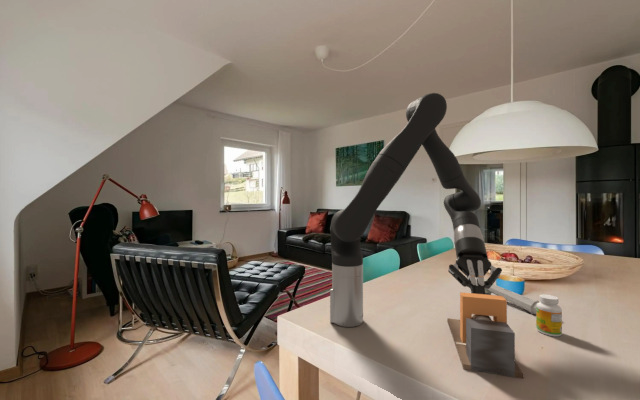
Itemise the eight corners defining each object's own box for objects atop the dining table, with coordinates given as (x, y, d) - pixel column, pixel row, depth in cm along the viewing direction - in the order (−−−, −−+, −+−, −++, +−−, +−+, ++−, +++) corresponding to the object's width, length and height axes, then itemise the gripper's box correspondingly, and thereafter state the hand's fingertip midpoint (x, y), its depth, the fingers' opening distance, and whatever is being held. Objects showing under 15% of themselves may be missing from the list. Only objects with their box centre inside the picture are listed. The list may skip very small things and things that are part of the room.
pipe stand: (463, 368, 60) (463, 325, 60) (447, 321, 82) (447, 290, 82) (523, 378, 56) (523, 332, 56) (489, 326, 79) (489, 294, 79)
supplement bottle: (531, 327, 79) (531, 293, 79) (550, 327, 78) (551, 293, 78) (546, 337, 73) (546, 300, 73) (567, 337, 73) (567, 300, 73)
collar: (462, 343, 65) (462, 296, 65) (460, 337, 68) (460, 292, 68) (506, 349, 63) (506, 300, 63) (502, 342, 66) (502, 296, 66)
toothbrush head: (542, 307, 84) (472, 275, 107) (539, 328, 85) (470, 291, 108) (553, 305, 85) (482, 273, 109) (550, 325, 86) (480, 290, 110)
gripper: (445, 234, 79) (451, 292, 67) (498, 236, 75) (515, 297, 63) (442, 250, 84) (448, 305, 72) (492, 252, 80) (507, 312, 68)
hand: (480, 302), depth 68 cm, fingers closed
